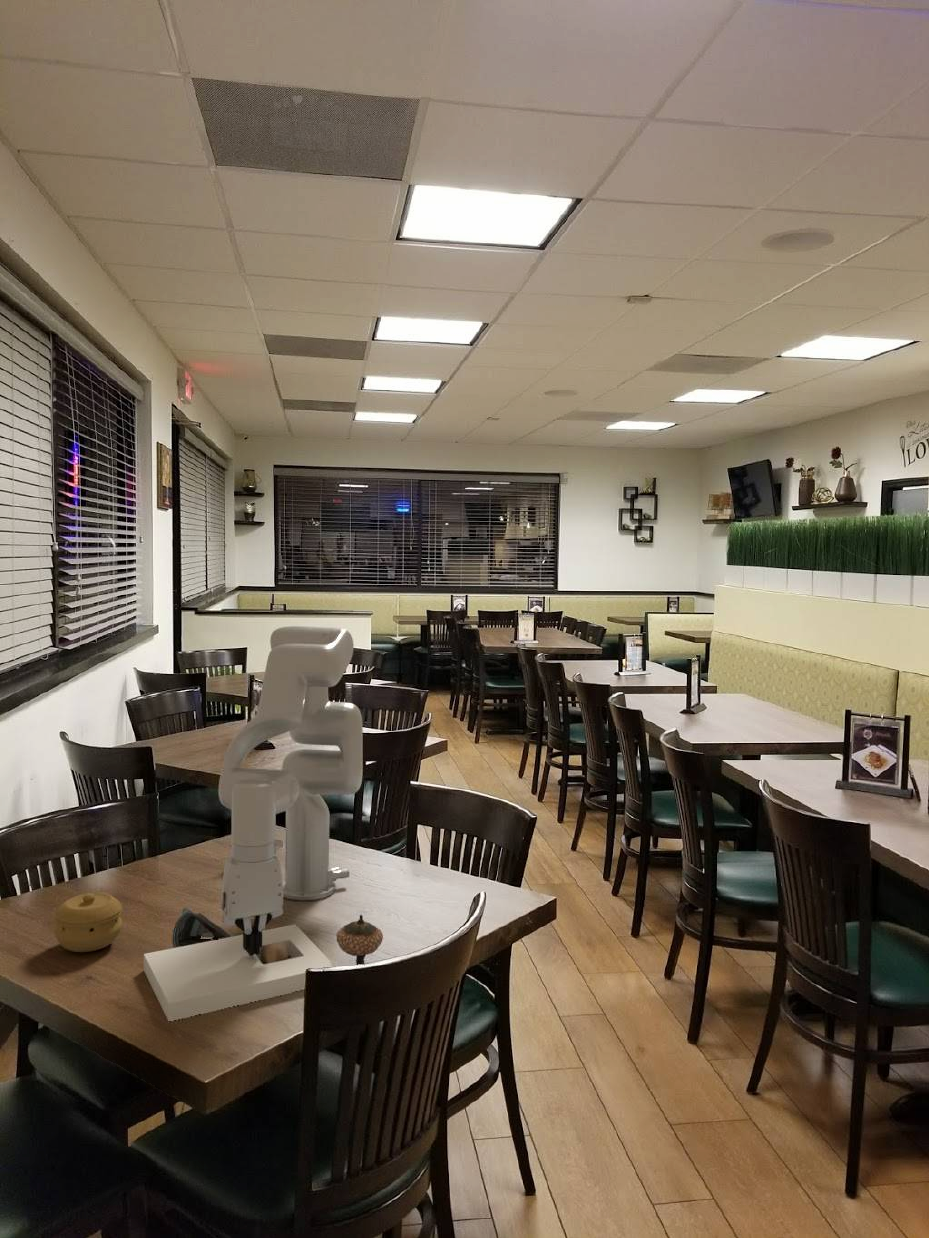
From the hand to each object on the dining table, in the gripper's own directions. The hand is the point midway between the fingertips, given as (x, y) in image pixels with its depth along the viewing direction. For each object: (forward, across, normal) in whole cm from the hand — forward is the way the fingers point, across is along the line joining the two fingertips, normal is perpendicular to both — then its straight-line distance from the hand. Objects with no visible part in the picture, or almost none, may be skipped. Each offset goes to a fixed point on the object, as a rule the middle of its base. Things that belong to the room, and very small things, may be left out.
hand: (252, 951), depth 156 cm
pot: (+4, +24, -25) cm, 35 cm away
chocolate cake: (+4, +3, -16) cm, 17 cm away
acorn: (+4, -18, +7) cm, 19 cm away
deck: (+4, +2, 0) cm, 5 cm away
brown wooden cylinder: (+1, -2, +1) cm, 3 cm away
